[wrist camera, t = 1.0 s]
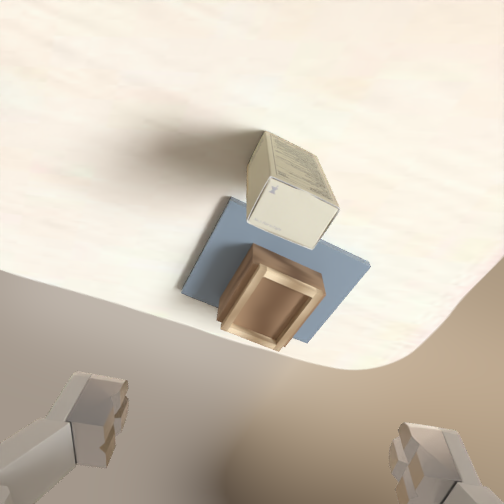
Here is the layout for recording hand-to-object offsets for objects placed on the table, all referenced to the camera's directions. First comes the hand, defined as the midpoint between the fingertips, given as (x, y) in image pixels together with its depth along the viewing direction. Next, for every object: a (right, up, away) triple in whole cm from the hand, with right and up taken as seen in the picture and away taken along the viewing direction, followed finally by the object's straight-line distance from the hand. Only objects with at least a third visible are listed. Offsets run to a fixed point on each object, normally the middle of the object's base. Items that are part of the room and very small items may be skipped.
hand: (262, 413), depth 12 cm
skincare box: (+3, +14, +29) cm, 32 cm away
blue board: (+2, +2, +36) cm, 36 cm away
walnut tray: (+2, +1, +36) cm, 36 cm away
